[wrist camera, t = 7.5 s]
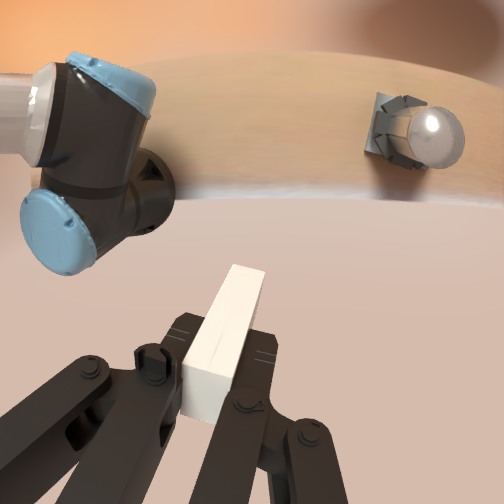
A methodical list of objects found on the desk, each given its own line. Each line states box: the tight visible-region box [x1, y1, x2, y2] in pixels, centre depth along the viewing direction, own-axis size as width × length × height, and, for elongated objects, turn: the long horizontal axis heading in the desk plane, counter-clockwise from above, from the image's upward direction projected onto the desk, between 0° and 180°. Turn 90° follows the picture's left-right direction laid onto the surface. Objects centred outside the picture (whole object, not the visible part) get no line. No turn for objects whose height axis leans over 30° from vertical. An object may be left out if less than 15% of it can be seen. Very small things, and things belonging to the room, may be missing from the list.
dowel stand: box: [365, 92, 427, 170], centre depth 35 cm, size 10×9×12 cm
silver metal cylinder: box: [387, 106, 465, 169], centre depth 32 cm, size 7×7×10 cm
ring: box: [372, 95, 427, 170], centre depth 37 cm, size 10×10×2 cm
